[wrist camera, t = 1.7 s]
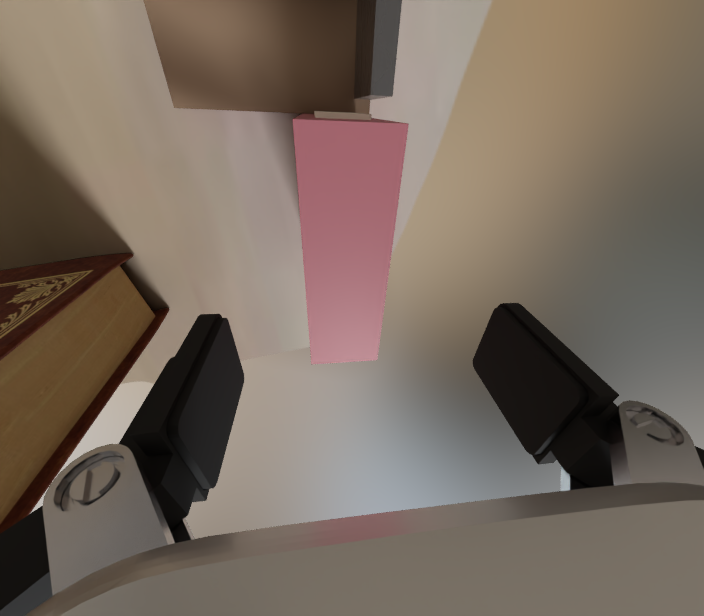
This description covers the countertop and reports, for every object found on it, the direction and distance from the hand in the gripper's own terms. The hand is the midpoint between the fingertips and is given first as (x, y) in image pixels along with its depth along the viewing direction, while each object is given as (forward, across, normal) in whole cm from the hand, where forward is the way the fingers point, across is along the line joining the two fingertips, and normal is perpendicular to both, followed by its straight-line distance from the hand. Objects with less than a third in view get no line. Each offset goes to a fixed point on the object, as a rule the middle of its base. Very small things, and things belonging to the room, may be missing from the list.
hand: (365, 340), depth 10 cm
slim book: (+20, 0, -1) cm, 20 cm away
